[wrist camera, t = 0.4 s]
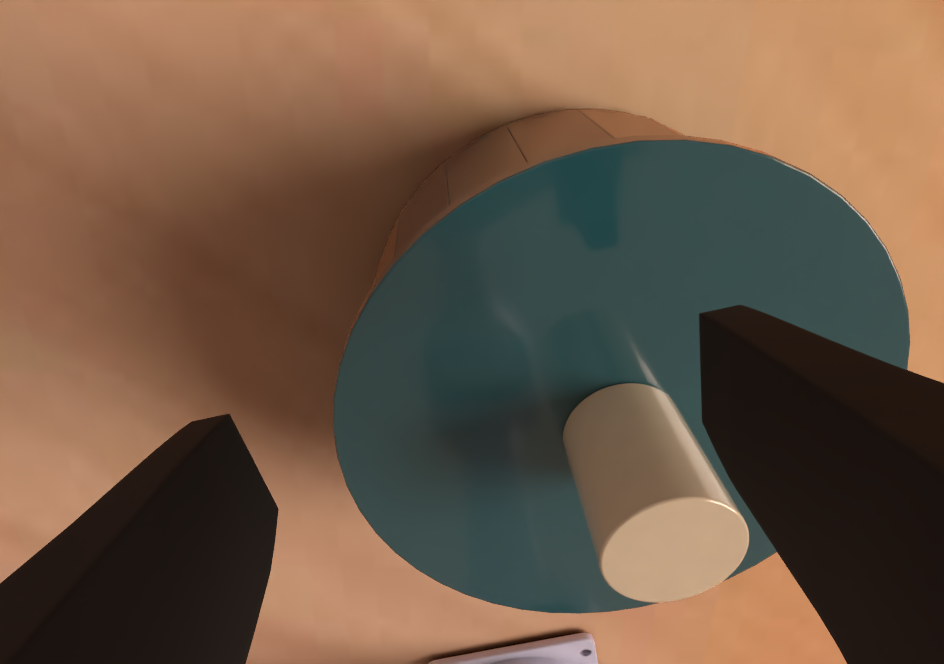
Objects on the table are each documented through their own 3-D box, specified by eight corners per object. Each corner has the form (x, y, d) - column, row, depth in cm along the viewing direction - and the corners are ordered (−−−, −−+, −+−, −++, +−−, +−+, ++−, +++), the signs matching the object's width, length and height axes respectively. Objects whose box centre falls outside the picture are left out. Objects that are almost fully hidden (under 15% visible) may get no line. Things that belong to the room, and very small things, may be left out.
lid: (848, 534, 18) (970, 691, 14) (415, 616, 19) (412, 789, 15) (921, 58, 12) (1187, 95, 8) (252, 208, 12) (164, 317, 8)
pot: (749, 415, 23) (845, 542, 18) (427, 479, 23) (427, 621, 18) (760, 63, 17) (912, 96, 11) (323, 162, 17) (278, 236, 12)
